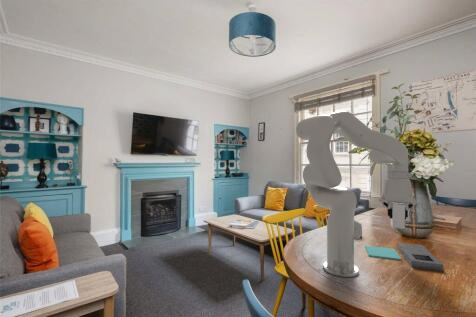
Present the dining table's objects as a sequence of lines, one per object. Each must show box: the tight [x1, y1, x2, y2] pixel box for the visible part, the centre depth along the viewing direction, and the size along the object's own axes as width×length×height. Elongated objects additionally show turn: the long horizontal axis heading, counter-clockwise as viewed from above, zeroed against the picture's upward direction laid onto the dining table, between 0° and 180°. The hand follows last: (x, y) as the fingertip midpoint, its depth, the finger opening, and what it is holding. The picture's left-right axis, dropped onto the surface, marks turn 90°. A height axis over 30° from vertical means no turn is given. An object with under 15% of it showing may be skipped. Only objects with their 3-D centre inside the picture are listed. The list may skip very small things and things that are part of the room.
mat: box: [364, 245, 402, 261], centre depth 108 cm, size 12×12×1 cm
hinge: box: [354, 219, 363, 240], centre depth 135 cm, size 17×5×10 cm, turn 49°
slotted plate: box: [396, 242, 444, 272], centre depth 102 cm, size 22×10×2 cm, turn 159°
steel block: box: [390, 202, 406, 230], centre depth 103 cm, size 4×4×10 cm
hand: (397, 217), depth 103 cm, fingers closed on steel block, 4 cm apart
